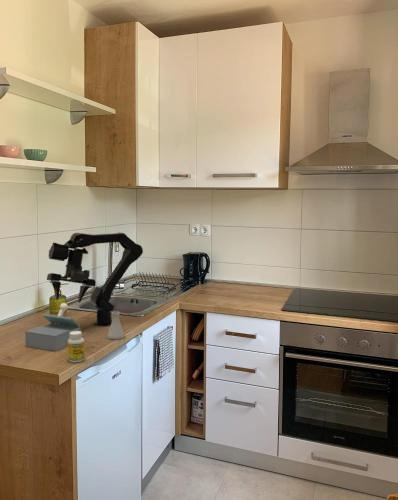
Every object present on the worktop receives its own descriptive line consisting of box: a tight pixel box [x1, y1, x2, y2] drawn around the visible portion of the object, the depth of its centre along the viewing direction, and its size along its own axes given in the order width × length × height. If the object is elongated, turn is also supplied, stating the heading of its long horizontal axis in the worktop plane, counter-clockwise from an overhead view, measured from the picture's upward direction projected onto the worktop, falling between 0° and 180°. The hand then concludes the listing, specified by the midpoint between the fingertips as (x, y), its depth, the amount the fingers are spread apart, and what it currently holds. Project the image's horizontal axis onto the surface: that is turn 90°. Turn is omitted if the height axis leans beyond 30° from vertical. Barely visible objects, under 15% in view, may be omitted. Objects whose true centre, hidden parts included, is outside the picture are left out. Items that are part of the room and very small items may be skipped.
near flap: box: [41, 302, 81, 328], centre depth 177 cm, size 7×14×7 cm
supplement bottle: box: [67, 330, 86, 363], centre depth 154 cm, size 5×5×10 cm
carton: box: [24, 322, 81, 352], centre depth 171 cm, size 14×14×6 cm
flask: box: [106, 311, 126, 341], centre depth 178 cm, size 7×7×10 cm
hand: (68, 301), depth 184 cm, fingers open, 9 cm apart
